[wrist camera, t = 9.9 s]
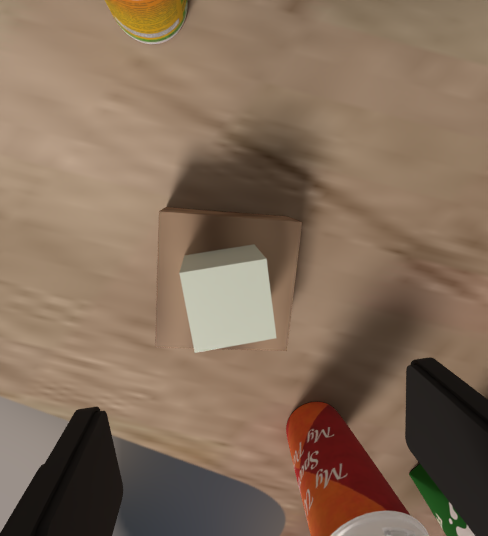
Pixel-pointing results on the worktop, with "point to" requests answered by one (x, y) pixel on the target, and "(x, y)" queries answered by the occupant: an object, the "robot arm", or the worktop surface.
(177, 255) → the walnut block
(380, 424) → the worktop surface
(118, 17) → the supplement bottle
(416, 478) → the milk carton
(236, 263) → the sage block
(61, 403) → the worktop surface
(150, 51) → the worktop surface
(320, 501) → the paper cup
